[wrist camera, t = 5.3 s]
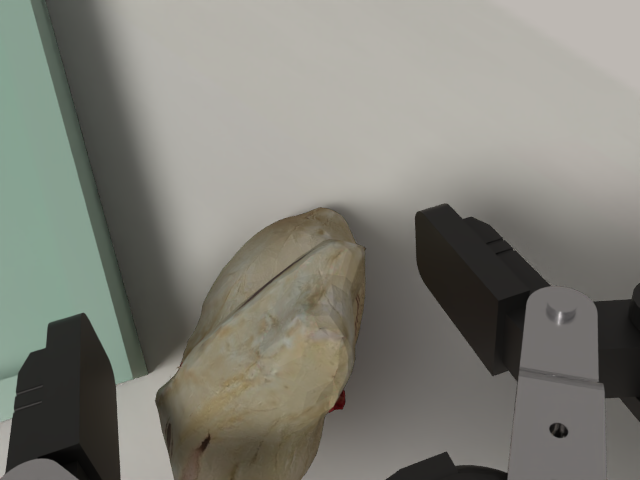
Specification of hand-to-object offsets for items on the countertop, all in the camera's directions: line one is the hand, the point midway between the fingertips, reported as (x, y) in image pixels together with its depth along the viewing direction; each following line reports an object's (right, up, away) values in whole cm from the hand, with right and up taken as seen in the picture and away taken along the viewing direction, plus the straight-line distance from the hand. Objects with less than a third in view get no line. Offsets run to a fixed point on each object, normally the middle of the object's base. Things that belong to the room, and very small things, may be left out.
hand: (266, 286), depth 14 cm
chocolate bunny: (0, -2, +5) cm, 5 cm away
